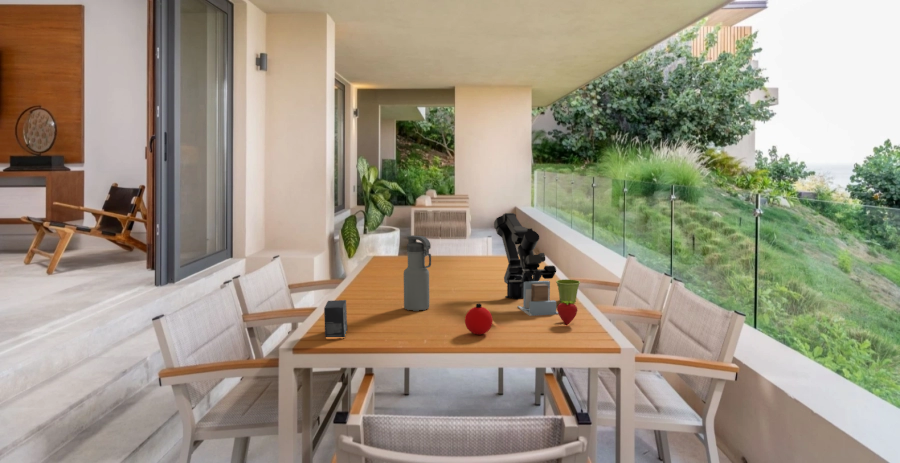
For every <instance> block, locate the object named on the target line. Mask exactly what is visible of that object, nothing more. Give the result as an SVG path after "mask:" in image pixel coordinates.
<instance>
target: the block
mask: <svg viewBox="0 0 900 463" xmlns="http://www.w3.org/2000/svg"><path fill="white" fill-rule="evenodd" d="M531 301H548V285H546V284H532V286H531Z"/></svg>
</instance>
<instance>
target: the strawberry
mask: <svg viewBox="0 0 900 463" xmlns="http://www.w3.org/2000/svg"><path fill="white" fill-rule="evenodd" d="M559 302H560V303H559V304H558V305H556V311H557V312H558V314H557V315H558V316H559V318H560V319H561V321H562V322H563V323H564V325H566V326H568V325H570V323H571V322H572V321H573V320H574V319H575V317H576V316H577V313H578V307H577V306H576V302H574V301H569V299H568V301H562V302H561V301H559Z"/></svg>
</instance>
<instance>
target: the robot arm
mask: <svg viewBox="0 0 900 463" xmlns="http://www.w3.org/2000/svg"><path fill="white" fill-rule="evenodd" d="M493 221H494V222H493V227H494V229H495V232H496V234H497V235H498V236H499V237H500V238H501V239H502V243H503V247H504V251H505V253H506V254H505V255H506V259H507V263H508V265H507V268H506V269H505V274H504V276H503V282H504V283H505V284H507V286H506V291H507V292H506V296H504V298H507V299H514V300H521V299H524V282H529V281H541V278H543V279H544V280H550V279H551V280H552V279H553V278H554V277H555V274H556V273H557V268H556V266H555V265H552V264H551V265H544V266H543V268H540V264H542V263H544V262H545V261H546V255H545V253H544V252H539V253H538V254H535V253H534V250H535V248H536V247H537V244H538V242H539V240H540V235H539V234H538V233H537V231H535V230H533V228H528V227H524V226H523V225H522V223H521V222H520V221H519V219H518V218H517V215H516V213H514V212H505V213H503V214H502V215H499V216H498V217H496V218H495V220H493ZM516 246H517V247H516ZM538 268H539V269H538Z"/></svg>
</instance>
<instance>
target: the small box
mask: <svg viewBox="0 0 900 463" xmlns="http://www.w3.org/2000/svg"><path fill="white" fill-rule="evenodd" d="M323 313H324V314H323V315H324V318H323V319H324V337H345V338H346V336H345V334H346V335H347V333H346V331H347V332H348V316H347V313H348V312H347V300H346V299H342V300H341V299H336V300H327V301H326V304H325V306H324V308H323Z"/></svg>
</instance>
